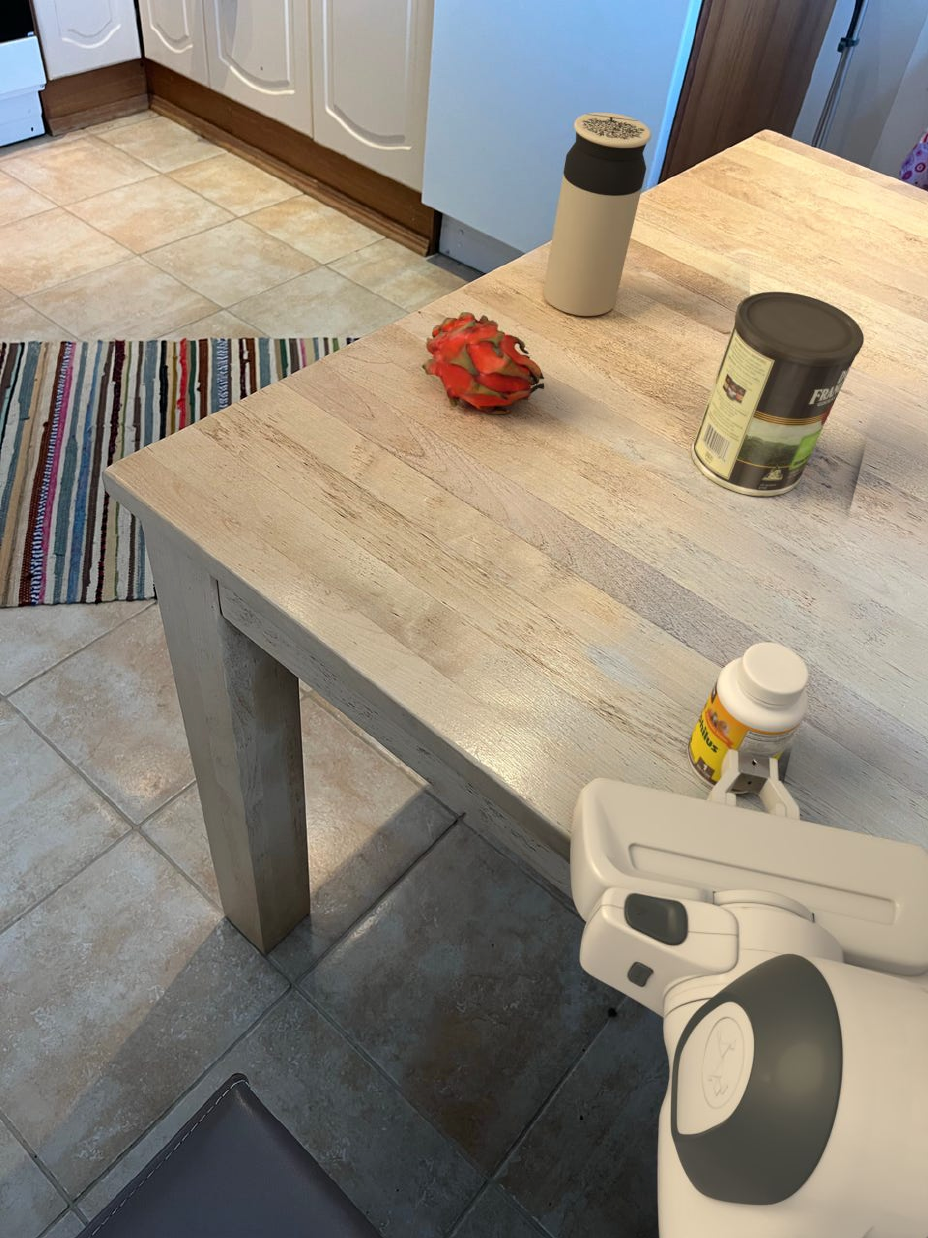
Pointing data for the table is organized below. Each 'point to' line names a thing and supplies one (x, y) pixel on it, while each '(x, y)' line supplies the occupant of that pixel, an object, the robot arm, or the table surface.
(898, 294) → the table surface
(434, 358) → the dragon fruit
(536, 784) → the table surface
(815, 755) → the table surface
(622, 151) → the travel mug
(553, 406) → the table surface
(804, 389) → the coffee can
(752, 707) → the supplement bottle
